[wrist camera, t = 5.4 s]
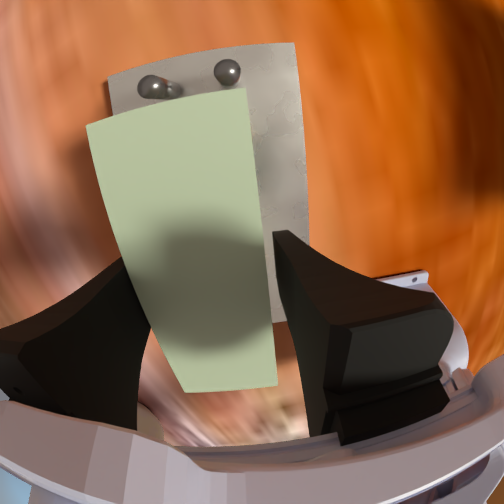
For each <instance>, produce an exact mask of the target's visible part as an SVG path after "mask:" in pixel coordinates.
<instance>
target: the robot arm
mask: <svg viewBox="0 0 504 504" xmlns="http://www.w3.org/2000/svg"><path fill="white" fill-rule="evenodd" d="M272 237H273V248H274V259H275V271H276V279H277V285H278V291H279V296H280V300H281V303H282V306H283V310H284V313H285V316H286V319H287V322H288V326H289V329H290V332H291V335H292V338H293V342H294V346H295V350H296V355H297V360H298V365H299V371H300V377H301V382H302V388H303V394H304V401H305V407H306V414H307V421H308V428H309V435H310V437H309V438H304V439H297V440H291V441H284V442H276V443H267V444H257V445H244V446H223V447H185V446H172V445H171V444H169V443H167V442H166V441H164V440H161V439H158V438H155V437H152V436H149V435H146V434H143V433H141V432H138V431H137V401H138V388H139V378H140V370H141V363H142V358H143V354H144V350H145V346H146V343H147V339H148V336H149V333H150V329H151V326H150V324H149V322H148V319H147V317H146V315H145V313H144V310H143V308H142V306H141V303H140V301H139V299H138V296H137V294H136V292H135V289H134V287H133V284H132V282H131V279H130V277H129V274H128V272H127V269H126V266H125V264H124V261H123V258H122V257H120V258H119V259H118V260H116V261H115V262H114V263H112V264H111V265H110V266H108V267H107V268H106V269H104V270H103V271H102V272H101V273H99V274H98V275H97V276H95V277H94V278H93V279H91V280H90V281H89V282H87V283H86V284H85V285H83V286H82V287H81V288H79V289H78V290H76V291H75V292H74V293H72V294H71V295H69V296H67V297H66V298H64V299H63V300H61V301H60V302H58V303H56V304H54V305H52V306H51V307H49V308H47V309H45V310H43V311H42V312H40V313H38V314H36V315H34V316H32V317H29V318H27V319H25V320H23V321H20V322H18V323H15V324H13V325H10V326H7V327H4V328H1V329H0V389H1V390H2V391H3V392H4V393H5V394H6V395H7V396H8V397H9V398H10V399H9V401H6V400H5V401H0V467H1V468H2V469H4V470H5V471H7V472H9V473H10V474H12V475H14V476H15V477H17V478H19V479H21V480H22V481H24V482H26V483H28V484H30V485H32V487H31V492H30V497H29V503H28V504H487V503H486V500H487V499H488V498H489V496H490V495H491V493H492V492H493V490H494V489H495V488H496V486H497V485H498V483H499V482H500V480H501V478H502V477H503V475H504V354H503V355H501V356H499V357H498V358H496V359H494V360H492V361H491V362H489V363H487V364H486V365H484V366H483V367H482V368H481V369H480V370H479V371H478V372H477V374H476V375H475V377H474V376H473V374H472V372H471V371H470V370H469V369H466V368H467V364H468V358H469V351H468V344H467V340H466V337H465V334H464V332H463V329H462V328H461V326H460V324H459V323H458V322H457V320H456V319H455V318H454V316H453V315H452V314H451V312H450V311H449V310H448V308H447V307H446V306H445V305H444V303H443V302H442V301H441V299H440V298H439V297H438V296H437V294H436V293H435V292H434V291H433V290H432V288H431V287H430V286H429V285H428V283H427V280H428V273H427V272H426V271H425V270H423V271H418V272H413V273H408V274H403V275H397V276H392V277H387V278H381V279H376V280H375V279H372V278H370V277H367V276H364V275H361V274H359V273H356V272H354V271H352V270H350V269H348V268H345V267H343V266H341V265H339V264H337V263H335V262H334V261H332V260H330V259H328V258H327V257H325V256H324V255H322V254H320V253H319V252H317V251H316V250H314V249H313V248H311V247H310V246H309V245H307V244H306V243H305V242H303V241H302V240H301V239H299V238H298V237H297V236H296V235H294V234H293V233H292V232H291V231H289V230H281V231H272ZM413 278H414V279H413Z"/></svg>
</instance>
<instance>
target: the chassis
mask: <svg viewBox="0 0 504 504" xmlns="http://www.w3.org/2000/svg"><path fill="white" fill-rule="evenodd" d="M107 78H108V85H109V92H110V99H111V105H112V111H113V116H114V115H117V114H121V113H124V112H127V111H131V110H134V109H138V108H141V107H145V106H149V105H153V104H157V103H161V102H165V101H169V100H174V99H178V98H183V97H188V96H193V95H198V94H204V93H210V92H216V91H223V90H230V89H238V88H246V95H247V103H248V111H249V119H250V127H251V135H252V144H253V152H254V160H255V169H256V177H257V186H258V195H259V203H260V212H261V221H262V230H263V239H264V249H265V258H266V267H267V277H268V287H269V296H270V306H271V316H272V323H276V322H283V321H287V319H286V316H285V313H284V310H283V306H282V303H281V300H280V296H279V291H278V285H277V279H276V271H275V259H274V248H273V237H272V231H281V230H289V231H291V232H292V233H293V234H294V235H296V236H297V237H298V238H299V239H301V240H302V241H303V242H305V243H306V244H307V245H309V213H308V189H307V170H306V154H305V140H304V128H303V116H302V106H301V96H300V86H299V77H298V69H297V61H296V53H295V46H294V43H270V44H255V45H244V46H235V47H227V48H220V49H213V50H207V51H201V52H196V53H191V54H186V55H181V56H177V57H172V58H168V59H164V60H160V61H156V62H153V63H149V64H145V65H142V66H139V67H135V68H132V69H129V70H126V71H123V72H120V73H117V74H114V75H111V76H108V77H107Z"/></svg>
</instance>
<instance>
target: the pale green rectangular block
mask: <svg viewBox="0 0 504 504" xmlns="http://www.w3.org/2000/svg"><path fill="white" fill-rule="evenodd" d="M86 130H87V135H88V140H89V145H90V150H91V154H92V158H93V163H94V167H95V171H96V175H97V179H98V183H99V186H100V190H101V194H102V197H103V201H104V204H105V207H106V211H107V214H108V217H109V220H110V223H111V227H112V230H113V233H114V236H115V239H116V242H117V244H118V247H119V250H120V253H121V256H122V258H123V261H124V264H125V266H126V269H127V272H128V274H129V277H130V279H131V282H132V284H133V287H134V289H135V292H136V294H137V296H138V299H139V301H140V303H141V306H142V308H143V310H144V313H145V315H146V317H147V319H148V322H149V324H150V326H151V328H152V330H153V332H154V334H155V336H156V339H157V341H158V343H159V345H160V347H161V349H162V351H163V353H164V355H165V357H166V359H167V361H168V362H169V364H170V366H171V368H172V370H173V372H174V374H175V376H176V377H177V379H178V381H179V383H180V385H181V387H182V388H183V390H184V392H185V393H193V392H216V391H231V390H243V389H253V388H262V387H270V386H278V379H277V368H276V358H275V347H274V337H273V326H272V316H271V306H270V296H269V287H268V277H267V267H266V258H265V249H264V239H263V230H262V221H261V212H260V203H259V195H258V186H257V177H256V169H255V160H254V152H253V144H252V135H251V127H250V119H249V111H248V103H247V95H246V88H238V89H230V90H223V91H216V92H210V93H204V94H198V95H193V96H188V97H183V98H178V99H174V100H169V101H165V102H161V103H157V104H153V105H149V106H145V107H141V108H138V109H134V110H131V111H127V112H124V113H121V114H117V115H114V116H111V117H108V118H105V119H102V120H99V121H96V122H94V123H91V124H88V125H86Z"/></svg>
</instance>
